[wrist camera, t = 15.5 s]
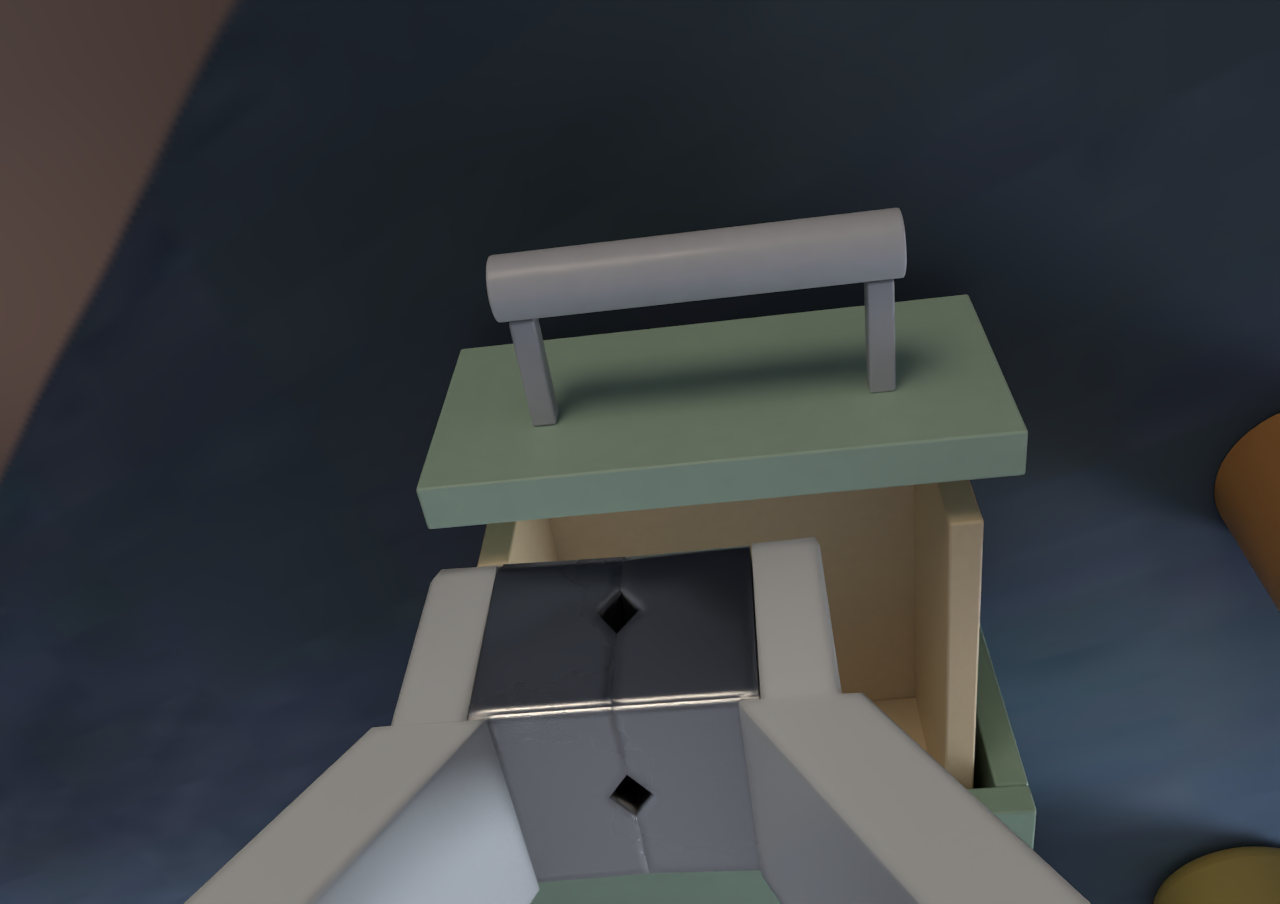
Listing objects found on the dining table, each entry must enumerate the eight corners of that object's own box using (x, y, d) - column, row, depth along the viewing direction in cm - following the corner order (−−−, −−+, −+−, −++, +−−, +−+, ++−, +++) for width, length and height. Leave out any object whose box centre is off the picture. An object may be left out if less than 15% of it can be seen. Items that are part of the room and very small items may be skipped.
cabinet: (527, 634, 39) (493, 844, 32) (973, 598, 37) (1037, 811, 30) (601, 906, 48) (587, 1115, 41) (963, 887, 46) (1010, 1101, 39)
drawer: (420, 199, 29) (361, 322, 23) (972, 130, 27) (1041, 245, 22) (557, 712, 39) (537, 875, 34) (958, 683, 38) (1001, 849, 33)
